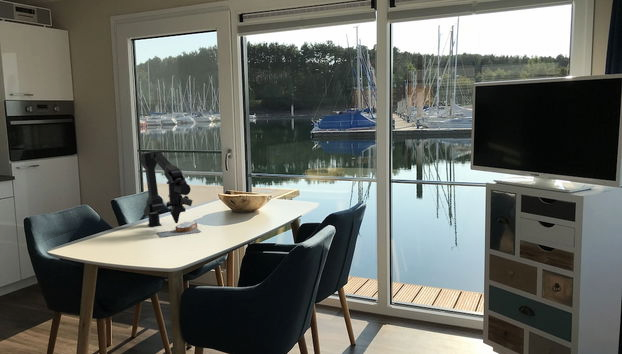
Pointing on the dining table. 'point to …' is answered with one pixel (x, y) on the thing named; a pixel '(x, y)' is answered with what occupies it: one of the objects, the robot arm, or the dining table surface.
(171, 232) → the mat
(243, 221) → the dining table surface
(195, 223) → the tin
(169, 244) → the dining table surface
